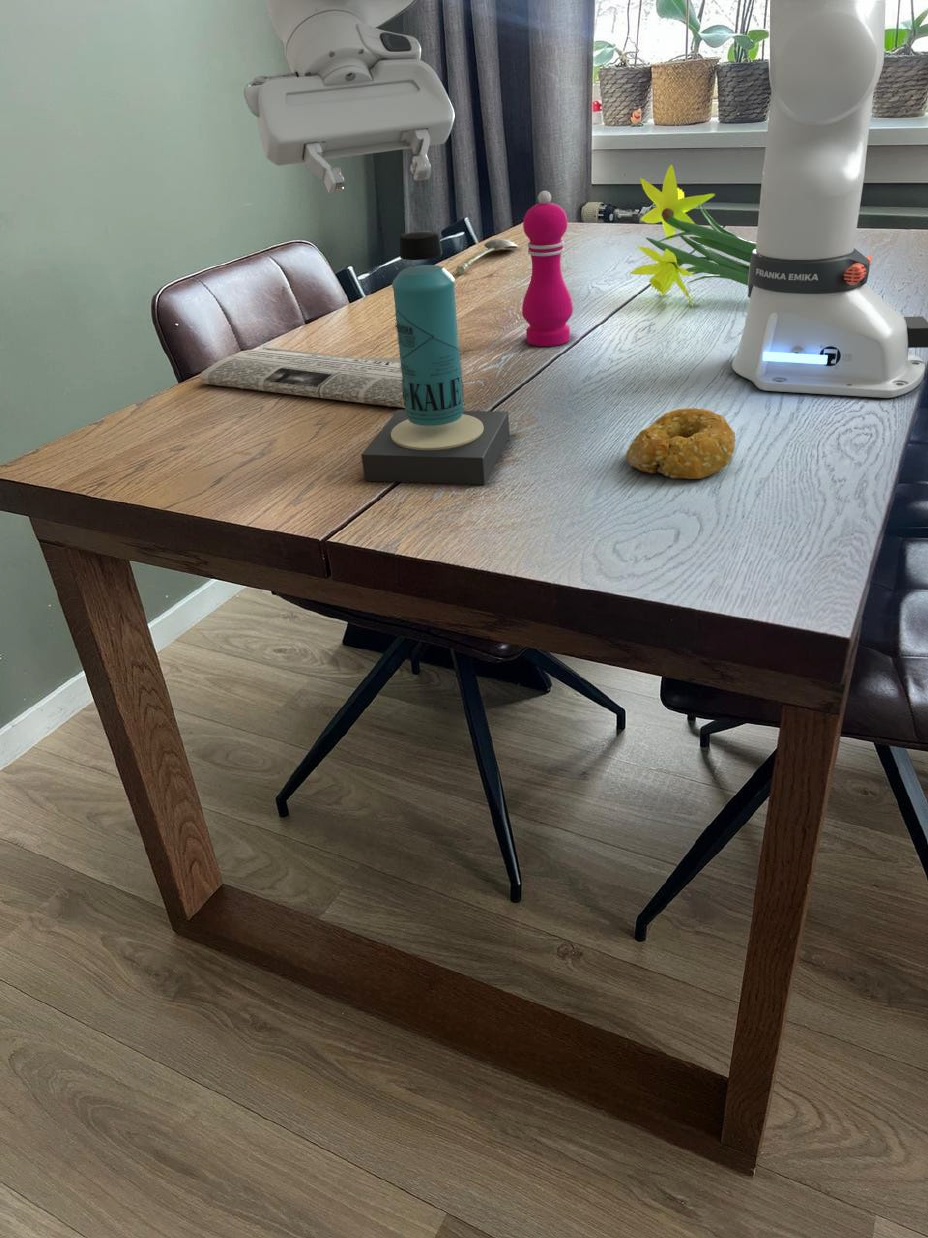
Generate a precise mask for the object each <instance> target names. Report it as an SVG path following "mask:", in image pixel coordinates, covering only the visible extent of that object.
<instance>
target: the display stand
mask: <svg viewBox="0 0 928 1238" xmlns="http://www.w3.org/2000/svg"><path fill="white" fill-rule="evenodd" d="M509 439H510V421H509V411H506V410H505V411H503V410H500V411H499V410H494V411H493V410H463V414H462V416H461V418H459V419H458V420H456V421H454V422H451V423H448V424H444V425H437V426H422V425H416V424H413V423H411V422H410V421H409V420H408V418H407V415H406V411H405V410H404V409H396V411H395V412H394V413H393V415H392V416H391V417H390V419H389V420H388V421H387V422H386V423H385V425H384V426H383V427H382V428H381V430H380V431H379V432H378V434H376V436H375V437H374V438H373V440H372V441H371V442H370V443H369V444H368V445H367V446H366V448H365V450H363V452H362V453H361V464H362V469H363V471H362V472H363V476H364V481H365V482H385V483H386V482H388V483H389V482H390V483H417V484H418V483H419V484H420V483H421V484H445V485H448V484H449V485H474V486H476V485H477V486H485V485H486V483H487V481H488V479H489V477H490V475H491V474H492V471H493V470H494V468H495V466H496V464H497V462H498V460H499V457H500V456H501V454H502V451H503V450H504V449H505V446H506V444H507V442H508V440H509Z"/></svg>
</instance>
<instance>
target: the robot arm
mask: <svg viewBox="0 0 928 1238" xmlns="http://www.w3.org/2000/svg"><path fill="white" fill-rule="evenodd" d="M417 1H418V0H263V2H264V5H265V8H266V10H267V13H268V17H269V19H270V22H271V24H272V27H273V29H274V31H275V33H276V35H277V36H278V38H279V39H280V41H281V42H282V43H283V46H284V56H285V59H286V63H287V64H288V67H289V71H290V72H285V73H279V74H275V75H268V76H267V75H258V76H255V77H253V79H252V81H250V82H248V83H247V84H246V85H245V87H244V89H243V97H244V99H245V102H246V105H247V107H248V110H249V112H250V113H251V114H252V115H253V116H255V117H256V120H257V127H258V132H259V136H260V141H261V146H262V149H263V152H264V155H265V157H266V158H267V160H268V161H270V162H271V163H273V164H274V165H276V166H287V165H295V164H302V163H305V166H306V168H307V170H308V171H309V172H311V173H312V175H314V176H316V177H317V178H318V179H319V180H320V181H322V182H323V183H324V185H325V188H326V190H327V192H328V194H335V193H342V192H344V189H345V188H344V187H345V185H346V181H345V177H344V175H343V174H342V169H341V167H340V166H332V165H330V164H329V163H328V162H327V161H326V160H332V159H340V158H347V157H354V156H362V155H369V154H377V153H385V152H393V151H399V150H407V149H411V151H412V153H413V154H414V155H413V157H412V160H411V164H410V167H409V171H410V173H411V174H412V175H413V180H414V181H416V182H418V181H425V180H429V179H430V177H431V174H432V165H431V163H430V160H429V158H428V153H429V147H430V146H438V145H443V144H445V143H446V142H447V140H448V138H449V136H450V135H451V131H452V129H453V126H454V121H455V110H454V107H453V105H452V103H451V99H450V98H449V95H448V93H447V91H446V89H445V87H444V85H443V83H442V82H441V80H440V78H439V76H438V74H437V73H436V71H435V70H434V68H432V66H431V65H429V64H428V63H426V62H425V61H423V60H421V55H422V46H421V44H420V42H419V40H418V39H417V38H416V37H414V36H412V35H407V34H402V33H396V32H391V31H387V30H383V29H379V28H380V27H382V26H384V25H385V24H387V23H389V22H391V21H392V20H394V19H395V18H397V17H398V16H400V15H401V14H403V13H404V12H406V11H408V10H409V9H410V8H411V7H412V6H413V5H414V4H415V3H416V2H417ZM768 27H769V28H768V76H769V77H768V79H769V87H770V91H771V92H770V101H769V102H770V103H769V111H768V122H767V131H766V140H765V150H764V158H763V159H764V160H763V168H762V175H761V187H760V197H759V206H758V207H759V208H758V218H757V219H758V220H757V230H756V240H755V243H756V249H755V250H753V252H752V256H751V262H750V263H749V266H750V267H749V276H748V286H747V293H748V294H747V296H748V298H749V302H748V306H747V311H746V312H747V314H746V317H745V321H744V326H743V330H742V334H741V335H742V336H741V338H740V341H739V344H738V348H737V350H736V353H735V356H734V358H733V361H732V363H731V368H732V370H733V371H734V372H735V374H738V375H739V376H741V377H742V378H745V379H747V380H749V381H751V382H752V383H753V384H754V385H755V386H756V388H758V389H759V390H762V391H766V392H768V391H769V392H781V393H782V392H785V393H797V394H798V393H799V394H801V393H802V394H813V395H814V394H818V395H830V396H831V395H832V396H833V395H835V396H847V397H848V396H849V397H867V398H883V399H890V398H896V397H900V396H902V395H905V394H907V393H910V392H911V391H913V390H914V389H915V388H916V387H918V386H919V385H920V384H921V382H922V381H923V379H924V378H925V374H926V364H925V361H924V360H923V359H922V358H921V357H919V356H918V355H915V354H909V349H927V348H928V321H927V319H926V318H925V317H924V316H923V315H920V316H919V315H918V316H903V315H902V314H901V313H900V312H899V311H898V310H896V309H895V307H893V306H892V305H890V304H889V303H888V302H887V301H886V300H885V299H884V298H882V296H880V295H879V294H878V293H877V292H876V291H875V290H874V289H872V287H870V286H869V285H868V284H867V283H868V279H869V273H870V268H871V267H870V266H871V265H872V262H871V261H872V260H873V255H872V254H869V255H868V256H867V257H866V256H865V255H864V254H863V253H861V252H860V251H859V250H857V249H856V248H855V244H856V237H857V229H858V223H859V215H860V209H861V202H862V195H863V194H862V193H863V188H864V187H863V186H864V181H865V173H866V172H865V171H866V162H867V152H868V151H867V150H868V143H869V135H870V134H869V133H870V126H871V125H870V123H871V118H872V117H871V116H872V109H873V100H874V92H875V88H876V85H877V84H878V82H879V80H880V77H881V74H882V71H883V68H884V67H883V66H884V62H885V43H886V41H885V39H886V38H885V37H886V0H768Z"/></svg>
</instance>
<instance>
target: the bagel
mask: <svg viewBox="0 0 928 1238" xmlns="http://www.w3.org/2000/svg"><path fill="white" fill-rule="evenodd" d="M735 450H736V433H735V431H734V430H733V428H732V427H731V425H730V424H729V422H728V421H727V419H726V418H725V417H724V416H722V415H721V414H719V413H716V412H713V411H712V410H710V409H705V408H695V407H694V408H693V407H691V408H676V409H675V410H672V411H669V412H664V413H663V415H661V416H660V417H657V419H656V420H655V421H653V423H652V424H651V425H650V426H648V427H646V428H644V429H642V430H640V431H639V432H638V434H637V435H636V436H635V437H634V439H633V440H632V442H631V444H630V445H629V447H628V449H627V450H626V453H625V461H626V462H627V463H628V464H629V466H631V467H632V468H635V469H637V470H639V471H641V472H642V473H643V472H644V473H647V474H648V473H649V474H657V473H659V474H662V475H663V476H665V477H669V478H671V479H685V480H687V479H688V480H695V479H697V480H698V479H699V480H700V479H705V478H707V477H709V476H711V475H712V474H716V473H718V472H720V471H721V470H723V468H725V467H726V466H727V465H729V462H730V461H731V460H732V457H733V454H734V452H735Z"/></svg>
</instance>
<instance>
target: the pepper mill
mask: <svg viewBox="0 0 928 1238" xmlns="http://www.w3.org/2000/svg"><path fill="white" fill-rule="evenodd" d="M537 201H538V203H537V204H535V205H532V206H531V207H530V208H529V209H528V210H527V211H526V212H525V215H524V217H523V221H522V222H523V223H522V229H523V233H524V235H525V236H526V237H527V238H528V240H529V242H527V247H528V248H527V249H528V250H527V254H528V255H529V256H530V258H531V259H530V260H531V276H530V281H529V284H528V286H527V289H526V292H525V295H524V297H523V301H522V308H521V314H522V317H523V320H525V322H526V323H527V324H528V325H529V326H528V327H527V328H526V329H525V331H526V333H525V335H526V343H527V344H529V345H530V346H535V347H556V346H560V345H563V344H566V343H568V342H569V341H570V339H571V327H570V325H569V324H567V322H568V321H569V320H570V319H571V317H572V315H573V312H574V308H573V307H574V306H573V299H572V296H571V294H570V291H569V289H568V287H567V285H566V282H565V280H564V277H563V274H562V273H563V272H562V266H561V265H562V263H561V258H562V253H564V252H565V248H564V244H565V241H564V240H563V239H562V238H563V236H564V234H565V233H567V229H568V217H567V214H566V211H565V210H564V209H563V208H562V207H561V206H560V205H558V204H556V203H553V202H551V201H552V195H551V193H550V191H547V190H542V191H540V192H539V194H538V195H537Z"/></svg>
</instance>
